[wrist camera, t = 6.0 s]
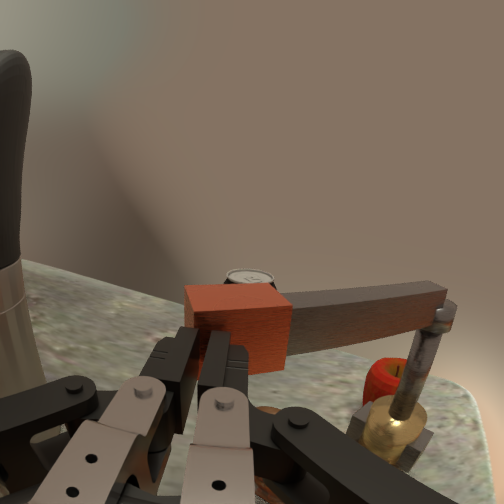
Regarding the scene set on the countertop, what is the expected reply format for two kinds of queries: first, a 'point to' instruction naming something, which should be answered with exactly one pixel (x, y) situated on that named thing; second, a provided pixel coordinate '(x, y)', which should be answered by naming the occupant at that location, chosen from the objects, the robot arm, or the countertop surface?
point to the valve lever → (311, 317)
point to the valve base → (399, 411)
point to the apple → (383, 378)
